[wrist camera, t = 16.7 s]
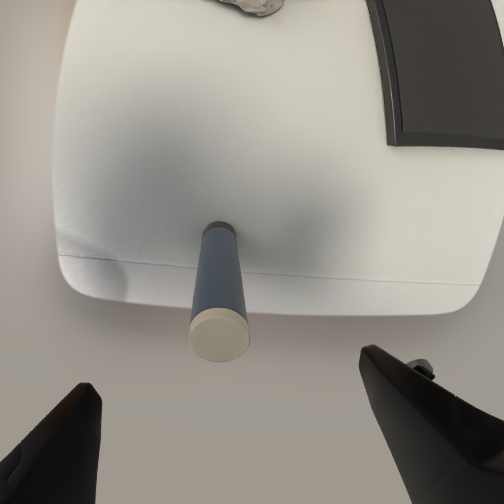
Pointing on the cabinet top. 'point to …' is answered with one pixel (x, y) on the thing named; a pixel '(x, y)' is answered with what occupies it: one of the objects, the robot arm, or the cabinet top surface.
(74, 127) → the cabinet top surface
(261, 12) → the stone
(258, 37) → the cabinet top surface
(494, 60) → the tablet
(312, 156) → the cabinet top surface
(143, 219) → the cabinet top surface
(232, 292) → the stylus
